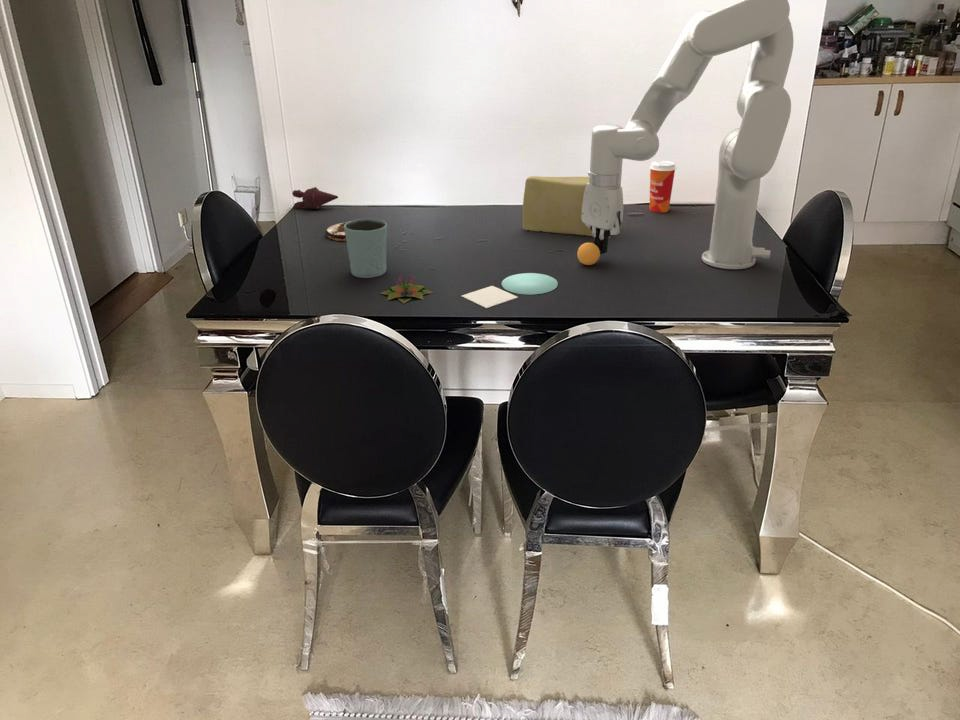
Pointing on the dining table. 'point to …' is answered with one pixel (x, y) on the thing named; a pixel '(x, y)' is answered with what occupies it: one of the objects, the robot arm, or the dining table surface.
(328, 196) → the icecream
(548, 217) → the cheese
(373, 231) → the green ceramic cup
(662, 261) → the dining table surface
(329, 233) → the golden round pastry
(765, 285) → the dining table surface
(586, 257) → the ball
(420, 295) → the lily flower
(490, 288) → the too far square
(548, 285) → the disc
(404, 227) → the dining table surface
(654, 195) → the paper cup
